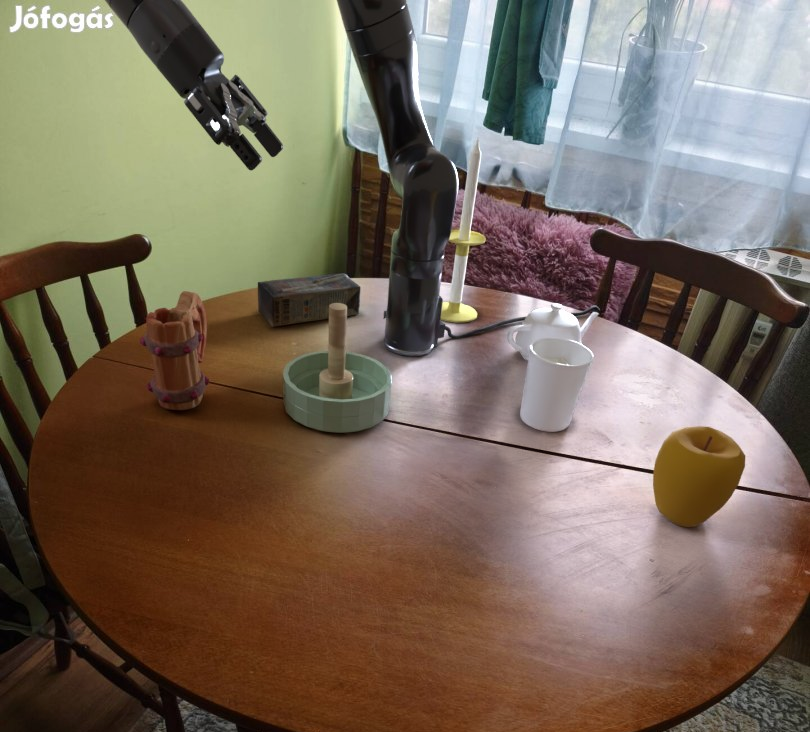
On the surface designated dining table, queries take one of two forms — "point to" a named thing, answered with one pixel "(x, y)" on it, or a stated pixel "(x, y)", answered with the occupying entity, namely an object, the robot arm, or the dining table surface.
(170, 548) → the dining table surface
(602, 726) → the dining table surface
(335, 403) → the bowl
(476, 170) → the candle
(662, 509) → the apple
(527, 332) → the teapot
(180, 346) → the mug
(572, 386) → the white cup
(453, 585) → the dining table surface
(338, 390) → the wooden masher
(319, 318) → the beverage carton
